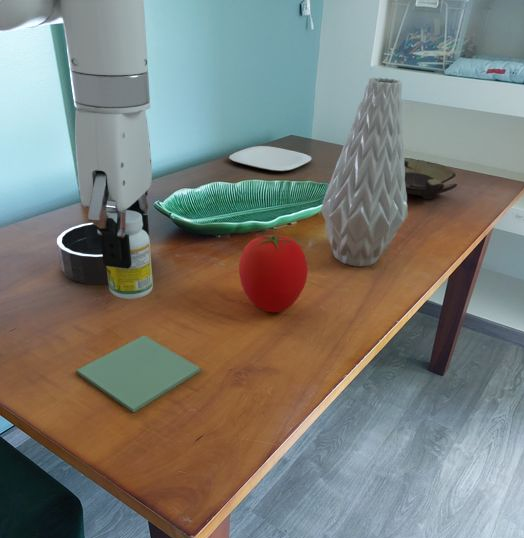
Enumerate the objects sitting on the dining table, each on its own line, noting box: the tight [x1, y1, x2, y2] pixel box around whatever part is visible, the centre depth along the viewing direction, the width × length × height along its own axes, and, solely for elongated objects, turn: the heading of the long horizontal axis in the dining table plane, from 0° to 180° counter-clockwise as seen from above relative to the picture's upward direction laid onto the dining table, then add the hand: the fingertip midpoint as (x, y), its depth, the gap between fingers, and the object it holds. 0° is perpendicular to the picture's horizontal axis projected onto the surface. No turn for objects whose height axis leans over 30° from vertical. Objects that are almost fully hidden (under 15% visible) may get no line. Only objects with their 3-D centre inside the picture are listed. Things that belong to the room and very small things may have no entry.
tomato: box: [238, 232, 308, 313], centre depth 87 cm, size 11×11×13 cm
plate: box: [228, 145, 312, 172], centre depth 161 cm, size 22×22×2 cm
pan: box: [56, 222, 109, 286], centre depth 99 cm, size 16×16×6 cm
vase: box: [320, 77, 409, 268], centre depth 100 cm, size 17×17×33 cm
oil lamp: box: [404, 157, 458, 200], centre depth 143 cm, size 22×30×8 cm
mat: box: [76, 335, 201, 413], centre depth 74 cm, size 12×12×1 cm
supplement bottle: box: [107, 210, 154, 300], centre depth 64 cm, size 5×5×10 cm
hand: (127, 253), depth 64 cm, fingers closed on supplement bottle, 5 cm apart
